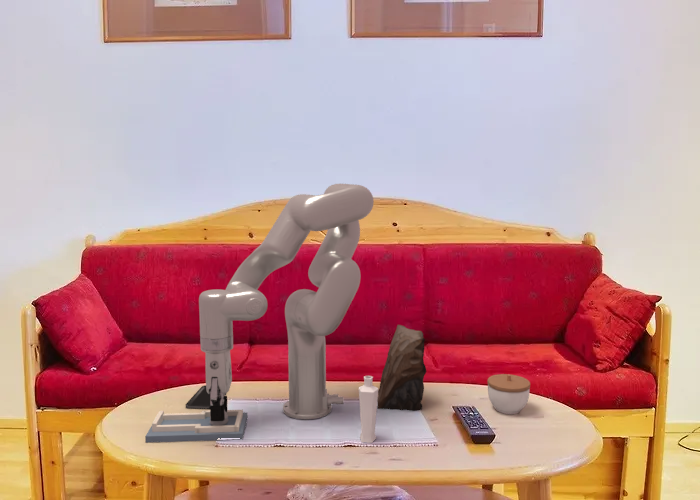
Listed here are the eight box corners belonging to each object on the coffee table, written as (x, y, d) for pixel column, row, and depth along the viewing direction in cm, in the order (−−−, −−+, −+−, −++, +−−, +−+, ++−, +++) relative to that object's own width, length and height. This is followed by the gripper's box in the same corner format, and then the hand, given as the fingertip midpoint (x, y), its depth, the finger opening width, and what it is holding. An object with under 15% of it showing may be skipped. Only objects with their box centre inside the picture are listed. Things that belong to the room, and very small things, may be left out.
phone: (184, 405, 158) (202, 385, 173) (184, 410, 158) (203, 388, 173) (213, 406, 157) (229, 385, 172) (213, 411, 157) (230, 389, 172)
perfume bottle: (364, 445, 137) (364, 382, 135) (355, 438, 141) (355, 376, 139) (381, 441, 139) (382, 378, 137) (372, 434, 143) (372, 373, 141)
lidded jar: (526, 420, 151) (528, 384, 150) (483, 414, 155) (484, 378, 154) (531, 405, 161) (532, 371, 159) (490, 399, 165) (491, 366, 163)
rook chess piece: (232, 422, 146) (231, 390, 145) (216, 428, 142) (215, 396, 141) (221, 417, 149) (220, 386, 148) (205, 423, 145) (204, 391, 144)
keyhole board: (247, 418, 152) (247, 404, 152) (242, 439, 140) (242, 425, 140) (158, 420, 151) (157, 407, 150) (145, 442, 139) (144, 428, 138)
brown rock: (390, 391, 170) (391, 322, 167) (434, 398, 165) (435, 327, 162) (374, 408, 158) (375, 334, 156) (421, 416, 154) (423, 339, 151)
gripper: (228, 353, 135) (230, 431, 137) (236, 332, 151) (238, 402, 154) (194, 353, 134) (197, 432, 137) (206, 332, 151) (208, 403, 153)
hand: (219, 415), depth 145 cm, fingers closed on rook chess piece, 4 cm apart
